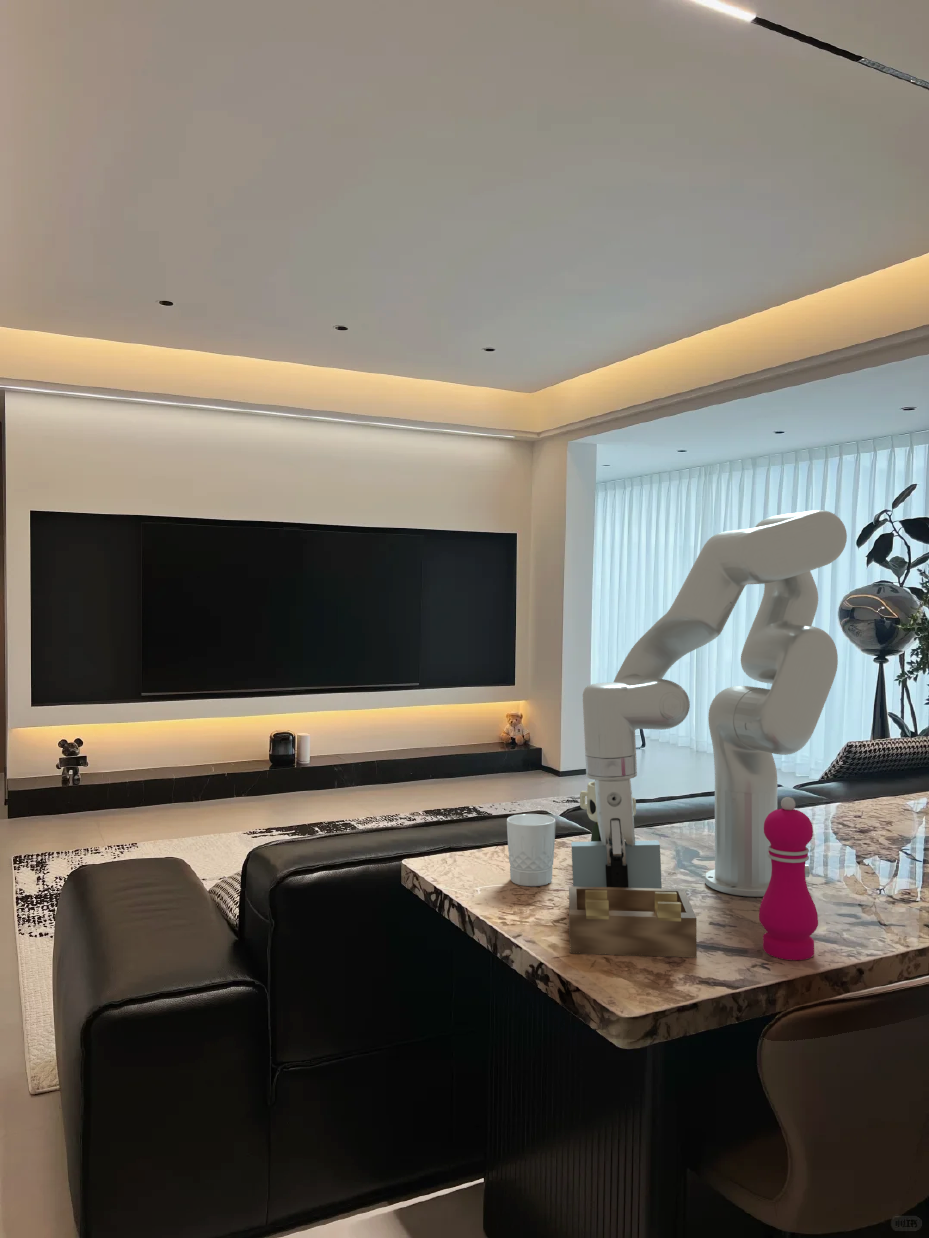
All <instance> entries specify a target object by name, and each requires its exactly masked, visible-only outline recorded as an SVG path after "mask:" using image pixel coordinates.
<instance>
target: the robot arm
mask: <svg viewBox="0 0 929 1238" xmlns="http://www.w3.org/2000/svg"><path fill="white" fill-rule="evenodd" d="M847 533H848V532H847V529H846V526H845V524H844V521H842V520H841V518H840V517H839V516H838V515H836V514H835V513H834V512H833V513H832V511H827V510H825V509H824V510H822V509H815V510H807V511H799V512H792V513H785V514H784V513H783V514H778V515H773V516H769V517H766V518H765V519H762V520H761V521H759V522H757V524H756V525H755V526H754V527H751V528H744V529H734V530H728V531H722V532H719V533H716V534H714V535H712V536H711V537H710V538H709V539H707V541H706V542H705V543H704V544H703V546H702V548H701V550H700V552H699V554H698V555H697V558H696V559H695V561H694V563H693V565H692V567H691V568H690V570H689V573H688V575H687V576H686V578H685V579H684V582H683V584H682V586H681V588H680V589H679V592H678V593H677V595H676V597H675V599H674V601H673V603H672V604H671V606H670V608H669V609H668V610H667V612H666V613H665V614H664V615H663V616H662V617H660V619H658V620H657V621H656V622H655V623H654V624H653V625H652V626H651V627H650V628H649V629H648V630H647V631H646V632H645V633H644V634H643V635H642V636H641V637H640V638H639V639H638V640H637V642H636V643H634V645H633V646H632V648H631V649H630V650H629V652H628V654H627V655H626V657H625V659H624V660H623V662H622V664H621V666H620V667H619V669H618V671H617V673H616V676H615V678H614V680H613V682H598V683H592V684H589V685H587V686H586V687H585V688H584V690H583V693H582V708H583V709H582V710H583V711H582V712H583V715H582V716H583V733H584V735H583V736H584V752H585V753H584V754H585V775H586V778H588V779H590V780H594V781H595V794H596V808H597V818H598V826H599V831H600V836H601V841H602V845H603V846H605V847H606V851H607V864H606V865H605V866H606V887H618V888H629V887H628V866H627V864H626V853H625V841H626V843H627V845H628V844H630V845H631V847H632V846H634V845H635V841H636V839H635V838H636V837H635V835H636V834H635V820H634V817H635V816H633V800H632V797H633V789H632V783H631V780H632V779H634V778H636V777H637V776H638V763H637V761H638V760H637V747H636V745H637V744H636V743H637V742H636V730H660V731H661V730H668V729H669V730H670V729H673V728H675V727H677V726H679V725H680V724H682V723H683V722H684V721H685V719H686V718H687V716H688V715H689V712H690V708H691V707H690V705H691V704H690V702H691V701H690V699H689V695H688V693H687V692H686V690H685V689H684V688H683V687H682V686H681V685H679V684H678V683H677V682H674V681H671V680H668V679H663V678H664V677H665V675H666V674H667V672H668V671H669V669H671V668H672V667H673V665H674V664H676V662H677V661H679V660H680V659H681V658H683V657H684V656H685V655H688V654H689V653H691V652H693V651H695V650H697V649H699V648H701V647H703V646H706V645H708V644H709V643H711V642H712V641H714V640H716V639H717V637H719V636H720V635H721V633H722V632H723V630H724V627H725V626H726V624H727V622H728V620H729V618H730V616H731V615H732V612H733V610H734V609H735V606H736V604H737V602H738V601H739V598H740V596H741V595H742V593H743V591H744V589H745V587H746V586H747V585H761V584H762V585H764V588H763V589H764V590H763V596H762V599H761V602H760V605H759V607H758V610H757V613H756V615H755V618H754V620H753V622H752V625H751V627H750V630H749V633H748V635H747V637H746V639H745V642H744V644H743V648H742V650H741V651H742V652H741V655H740V664H741V668H742V670H743V672H744V673H745V674H746V675H747V677H749V678H751V679H752V680H754V681H757V682H760V683H764V684H771V687H770V688H765V687H755V686H748V685H735V686H734V685H733V686H730V687H727V688H725V689H723V690H721V691H719V693H717V694H716V695H715V696H714V697H713V700H712V701H711V703H710V705H709V709H708V716H707V717H708V721H707V722H708V728H709V734H710V738H711V745H712V750H713V751H712V752H713V762H714V764H713V765H714V868H713V869H710V870H709V871H707V872H706V873H705V874H704V883H705V884H706V886H708V887H709V888H711V889H713V890H715V891H718V892H721V893H724V894H728V895H734V896H739V897H740V896H741V897H742V896H743V897H752V898H754V897H756V898H757V897H762V898H763V897H764V895H765V892H766V890H767V888H768V885H769V883H770V879H771V872H772V863H771V858H769V857H768V853H769V850H768V846H769V845H770V844H771V843H770V842H769V840H768V839H767V838H766V836H765V834H764V822H765V819H766V817H767V816H768V815H769V814H770V813H771V812H773V811H774V810H777V809H778V772H777V765H776V762H775V758H774V755H773V754H775V755H780V756H785V755H786V756H788V755H792V754H795V753H798V752H799V751H800V750H802V749H803V747H805V746H806V745H807V744H808V742H809V741H810V739H811V738H812V735H813V734H814V731H815V729H816V727H817V724H818V723H819V719H820V717H821V714H822V712H823V710H824V707H825V704H826V701H827V698H828V696H829V694H830V692H831V689H832V685H833V683H834V681H835V677H836V674H837V670H838V663H839V661H838V660H839V658H838V650H837V647H836V643H835V642H834V639H833V638H832V637H831V635H830V634H829V633H828V632H826V631H825V630H823V629H821V628H819V627H816V626H814V625H813V623H814V619H815V617H816V613H817V610H818V606H819V592H818V587H817V584H816V582H815V580H814V579H815V578H814V576H813V574H812V572H811V571H813V570H816V569H819V568H822V567H825V566H827V565H830V564H831V563H833V562H834V561H836V560H837V559H838V558H839V557H840V556H841V555H842V553H843V552H844V550H845V548H846V545H847V539H848V538H847V537H848V534H847ZM609 841H612V844H609ZM621 841H622V843H621ZM610 849H612V851H611V852H610ZM621 850H622V851H621ZM809 877H810V866H809V864H805V878H809Z"/></svg>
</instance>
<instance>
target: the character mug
mask: <svg viewBox="0 0 929 1238" xmlns="http://www.w3.org/2000/svg"><path fill="white" fill-rule="evenodd" d="M586 787H587V788H586V789H587V790H581V791H580V794H579V806H580V808H581V809H582V810H586V814H587V816H588V819H590V820H591V821H593V822H594V824H593V826H592V829H591V830H592V831H591V837H590V842H592V841H601V836H600V831H599V826H598V818H597V808H596V794H595V780H594V781H589V782H588V783H587V786H586ZM632 800H633V817H635V816H636V814H637V801H636V798H635V797H633V796H632Z"/></svg>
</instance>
